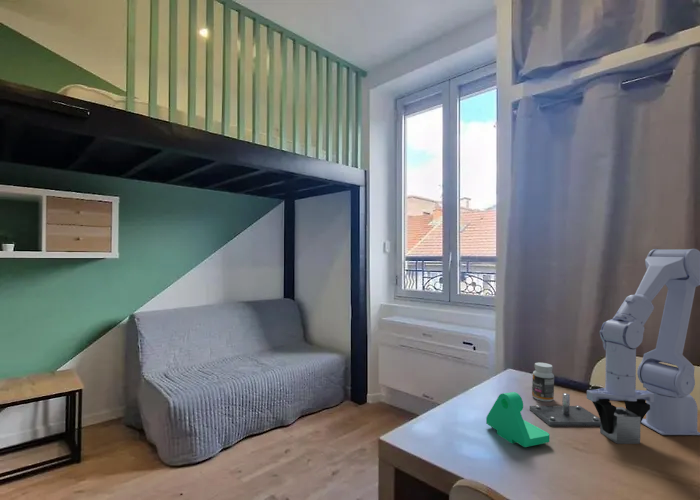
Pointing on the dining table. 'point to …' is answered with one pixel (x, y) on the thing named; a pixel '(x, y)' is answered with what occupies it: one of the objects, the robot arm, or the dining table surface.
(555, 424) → the dark grey mounting plate
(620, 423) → the grey square socket
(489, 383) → the dining table surface
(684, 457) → the dining table surface
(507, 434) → the camera mount
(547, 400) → the pill bottle
